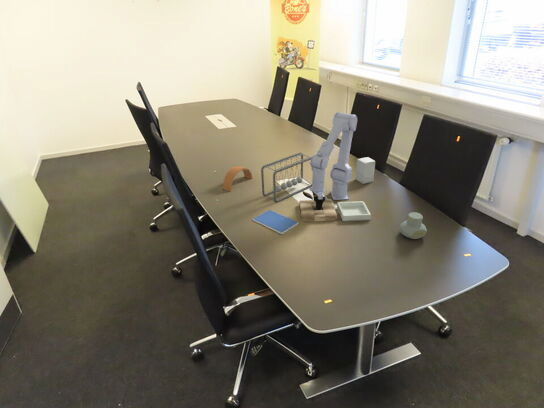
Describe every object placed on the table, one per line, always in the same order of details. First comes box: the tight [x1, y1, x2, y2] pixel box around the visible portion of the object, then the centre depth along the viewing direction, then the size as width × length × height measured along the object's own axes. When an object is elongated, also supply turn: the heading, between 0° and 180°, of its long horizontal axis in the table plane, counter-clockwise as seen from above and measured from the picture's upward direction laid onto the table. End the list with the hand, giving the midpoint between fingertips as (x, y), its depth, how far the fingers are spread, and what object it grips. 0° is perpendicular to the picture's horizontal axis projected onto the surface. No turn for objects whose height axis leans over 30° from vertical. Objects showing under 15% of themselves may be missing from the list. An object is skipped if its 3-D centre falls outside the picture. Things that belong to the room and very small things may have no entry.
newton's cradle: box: [260, 151, 313, 203], centre depth 191 cm, size 30×10×18 cm, turn 131°
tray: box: [336, 200, 372, 222], centre depth 172 cm, size 13×13×3 cm
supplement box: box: [355, 156, 376, 185], centre depth 201 cm, size 7×7×13 cm
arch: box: [222, 165, 254, 192], centre depth 203 cm, size 6×20×10 cm, turn 144°
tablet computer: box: [252, 209, 299, 235], centre depth 168 cm, size 19×13×1 cm, turn 47°
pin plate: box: [299, 198, 338, 222], centre depth 174 cm, size 16×16×2 cm
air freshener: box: [399, 211, 428, 240], centre depth 153 cm, size 11×8×10 cm
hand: (317, 205), depth 173 cm, fingers open, 7 cm apart
